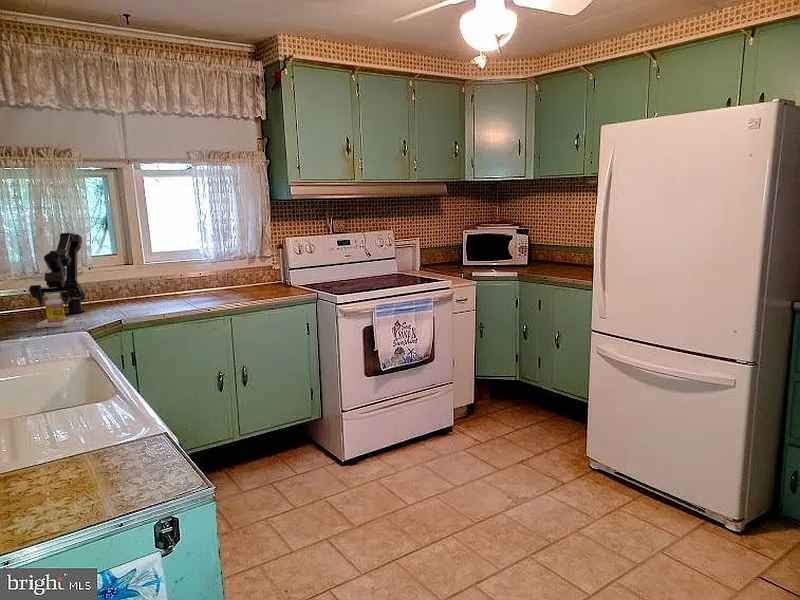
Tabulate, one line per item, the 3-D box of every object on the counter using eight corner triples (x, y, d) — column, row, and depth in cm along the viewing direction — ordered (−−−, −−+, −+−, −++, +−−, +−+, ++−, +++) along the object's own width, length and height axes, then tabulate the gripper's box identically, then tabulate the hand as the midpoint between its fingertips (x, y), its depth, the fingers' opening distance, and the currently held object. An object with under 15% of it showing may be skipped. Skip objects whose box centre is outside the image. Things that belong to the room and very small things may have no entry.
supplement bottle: (53, 325, 241) (49, 295, 239) (44, 324, 244) (40, 294, 242) (69, 322, 246) (65, 293, 244) (60, 321, 250) (56, 292, 248)
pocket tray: (51, 322, 251) (50, 318, 250) (76, 321, 252) (76, 317, 251) (37, 328, 239) (36, 323, 239) (63, 326, 240) (63, 322, 240)
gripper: (27, 266, 242) (21, 296, 233) (76, 264, 247) (72, 292, 238) (35, 282, 251) (30, 311, 242) (82, 280, 256) (79, 308, 247)
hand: (53, 305), depth 242 cm, fingers open, 9 cm apart
